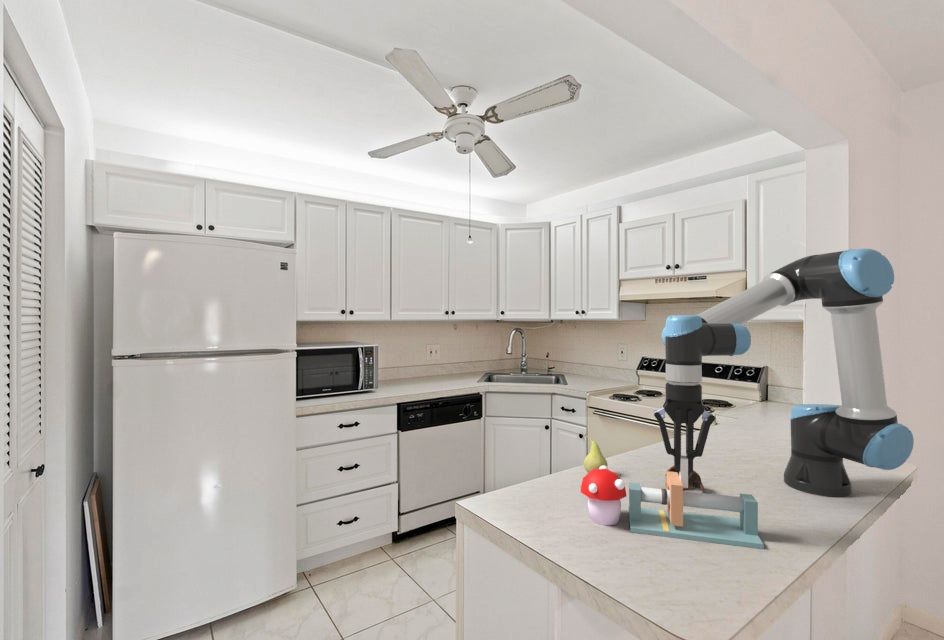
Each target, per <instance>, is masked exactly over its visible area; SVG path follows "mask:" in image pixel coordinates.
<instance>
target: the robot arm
mask: <svg viewBox="0 0 944 640" xmlns="http://www.w3.org/2000/svg"><path fill="white" fill-rule="evenodd" d="M894 282H895V273H894V268H893V266H892V264H891V262H890V260H889V259H888V258H887V257H886V256H885V255H883V254H882V253H881V252H880V251H877V250H875V249H872V248H857V249H856V248H854V249H853V248H850V249H847V250H842V251H840V250H839V251H835V252H825V253H820V254H813V255H807V256H804V257H801V258H800V259H796V260H794V261H792V262H790V263H788V264H786V265H783V266H782V267H780V268H778V269H776V270H774V271H771V272H770V273H767V275H765V276H764V277H763V278H762V280H761V281H760V282H759V283H757V284H755V285H753V286H751V287H749V288H747V289H744V290H743V291H741V292H739V293H736V294H735V295H733V296H731V297H729V298H727V299H725V300H723V301H722V302H719V303H718V304H715V305H714V306H712V307H709V308H708V309H706V310H704V311H702V312H700V313H698V314H695V315H694V314H693V315H692V314H690V315H685V314H684V315H677V314H676V315H668V316H667V318H666V320H665V326H664V328H663V329H662V332H661V341H662V344H663V345H664V346H665V380H666V383H665V401H664V403H663V405H662V407H661V408H659V409H658V410H654V411H653V413H652V414H653V416H654V417H655V419H656V420H657V422H658V425H659V429H660V434H661V436H662V441H663V445H664V448H665V451H666V454H667V455H669V456H670V455H671V456H673V466H674V468H675V470H676V471H679V478H680V480H681V482H682V485H683V488H688V472H691V473H692V472H693V470H694V459H695V458H697V457H698V458H700V457H702V456H703V453H704V450H705V446H706V442H707V439H708V436H709V433H710V429H711V426H712V424H713V423H714V421H716V416H715V415H714V414H713V413H710V412H708V411H706V410H705V407H704V405H703V390H702V389H703V386H702V384H701V383H702V381H703V375H702V374H703V372H702V371H703V370H702V368H703V367H702V365H703V357H709V356H710V357H712V356H713V357H715V356H717V357H721V356H726V357H727V356H729V357H733V356H739V355H744V354H745V353H747V352H748V350H749V349H750V347H751V343H752V339H751V338H752V336H751V332H750V330H749V329H748V328H747V327H746V326H745V325H744V324H745V323H747V322H749V321H751V320H753V319H754V318H757V317H758V316H761V315H763V314H765V313H767V312H769V311H770V310H772V309H774V308H776V307H778V306H780V307H781V306H782V307H783V306H788V305H791V304H792V303H795V302H797V301H804V300H815V299H817V300H818V299H819V300H821V306H822V309H824V310H825V311H828V312H829V313H830V317H831V318H830V319H831V326H832V327H831V328H832V334H833V341H834V349H835V351H834V352H835V357H836V364H837V366H836V367H837V373H838V384H839V391H840V398H841V405H839V404H824V403H821V404H819V403H812V404H811V403H809V404H808V403H807V404H806V403H805V404H797V405H794V406H793V407H792V408H791V411H790V413H791V414H790V448H791V450H790V458H789V460H788V463H787V465H786V467H785V469H784V473H783V482H784V483H785V484H786V485H787V486H788V487H791V488H793V489H795V490H799V491H801V492H805V493H809V494H812V495H813V494H814V495H819V496H827V497H847V496H850V495H851V494H852V482H851V479H850V478H849V474H848V472H847V469H846V468H845V464H844V459H845V460H848V461H851V462H854V463H858V464H861V465H864V466H866V467H868V468H875V469H880V470H884V471H891V470H895V469H897V468H899V467H901V466H902V465H904V464H905V463H906V462H907V460H908V459H909V458H910V457H911V454H912V452H913V449H914V439H915V438H914V435H913V433H912V431H911V430H910V429H909V427H907V426H906V425H904V424H902V423H899V422H898V415H897V414H898V413H897V412H896V411H895V410H894V409H892V407H890V406H889V405H888V401H887V394H886V393H887V392H886V385H885V384H886V383H885V378H884V376H885V375H884V370H883V360H882V353H881V352H882V351H881V344H880V343H881V342H880V334H879V327H878V319H877V309H878V308H879V307H880V305H882V304H883V303H884V299H883V296H885V295H887V294H888V293H889V292H890V291H891V289H892V288H893V286H892V285H893V284H894ZM666 415H668V417H669V418H670V420H671V421H672V422H673V447H672V445H671V441H670V437H669V433H668V430H667V426H666V422H665V418H666ZM700 417H701V419H702V423H701V426H700V429H699V431H698V437H697V439H696V444H694V428H695V423H696V422H697V421H698V420H699V418H700ZM683 424H684V425H685V455H683V454H682V425H683ZM694 445H695V447H694Z"/></svg>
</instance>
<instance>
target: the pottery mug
mask: <svg viewBox="0 0 944 640" xmlns="http://www.w3.org/2000/svg"><path fill="white" fill-rule="evenodd" d="M666 471H669V472H677V473H678V475H679V471H676V470H675V468H674V465H672V466H671V467H669V468H668V469H667V470H666ZM665 477H666V474H665ZM695 488H696V489H700V491H701V493H706V492H705V486H704V484H703V482H702V478H701V475H700V474H699V473H698V472H697V471H696V470H694V469H693V472H692V473H691V472H688V488H683V491H686V490H689V489H691V490H693V491H694V490H695ZM665 489H667V484H666V483H665Z"/></svg>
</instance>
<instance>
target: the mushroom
mask: <svg viewBox="0 0 944 640" xmlns="http://www.w3.org/2000/svg"><path fill="white" fill-rule="evenodd" d="M580 485H581V486H580V494H582V495H584V496H586V497H588V500H587V508H588V515H589V519H590V520H591V521H592V522H594V523H595V524H598V525H601V526H615V525H617V524H619V521H620V516H621V515H620V514H621V509H622V503H621V500H622V499H624V498H627V491H626V484H625V481H624V480H623V479H621V477H620V476H619V474H617V473H616V472H614V471H612V470H610V469H609V468H608V467H606V466H601V467H599V469H592V470H591V471H590V472H589V473H588V472H587V474H585V476H583V477H582V480H581V484H580Z"/></svg>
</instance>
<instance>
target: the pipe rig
mask: <svg viewBox="0 0 944 640" xmlns="http://www.w3.org/2000/svg"><path fill="white" fill-rule="evenodd" d="M628 487H629V488H628V519H629V528H630V529H629V530H630V533H636V534H641V535H642V534H643V535H651V536H658V537H659V536H660V537H664V538H665V537H667V538H674V539H675V538H676V539H681V540H690V541H698V542H699V541H700V542H707V543H713V544H722V545H729V546H737V547H746V548H752V549H753V548H754V549H760V550H764V543H763V541H762V540H761V538H760V537H759V533H758V532H759V524H758V521H759V506H758V504H759V502H758V501H757V499H756V498H755V497H754V495H753V494H751V493H750V494H749V493H741V492H739V496H735V495H734V496H733V495H723V494H716V493H714V494H713V493H707V492H705V493H703V492H694V491H686V490H683V507H687V508H697V509H705V510H706V509H707V510H715V511H716V510H717V511H724V512H734V513H739V517H729V516H722V515H721V516H720V515H715V514H713V515H712V514H704V513H703V514H702V513H694V512H686V511H685V512H684V511H683V527H682V526H674V525H671V523H670V519H669V515H668V512H667V509H661V508H660V509H659V508H658V509H657V508H651V507H650V508H649V507H642V502H643V503H653V504H658V505H659V504H660V505H666V506H667V504H668V505H670V490H667V488H662V487H661V488H654V487H644V486H643V487H642V486H641V484H640V483H637V482H629V483H628Z"/></svg>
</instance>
